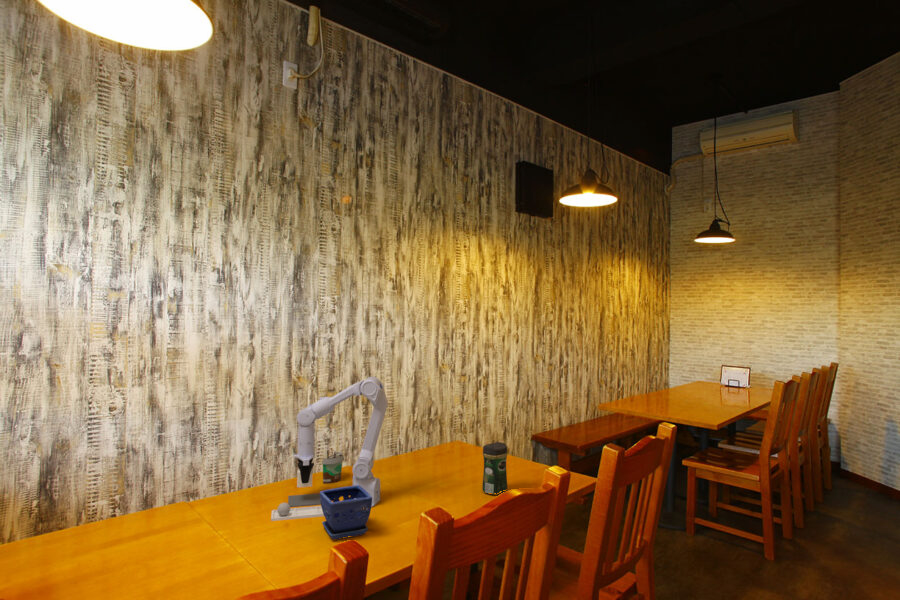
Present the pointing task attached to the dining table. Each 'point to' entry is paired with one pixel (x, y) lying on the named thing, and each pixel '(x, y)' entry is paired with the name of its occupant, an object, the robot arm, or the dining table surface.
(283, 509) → the grey ball
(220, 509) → the dining table surface
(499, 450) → the coffee jar
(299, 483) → the letter cube
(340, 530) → the flower pot
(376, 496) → the robot arm
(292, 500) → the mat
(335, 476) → the food container
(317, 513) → the sorting tray
